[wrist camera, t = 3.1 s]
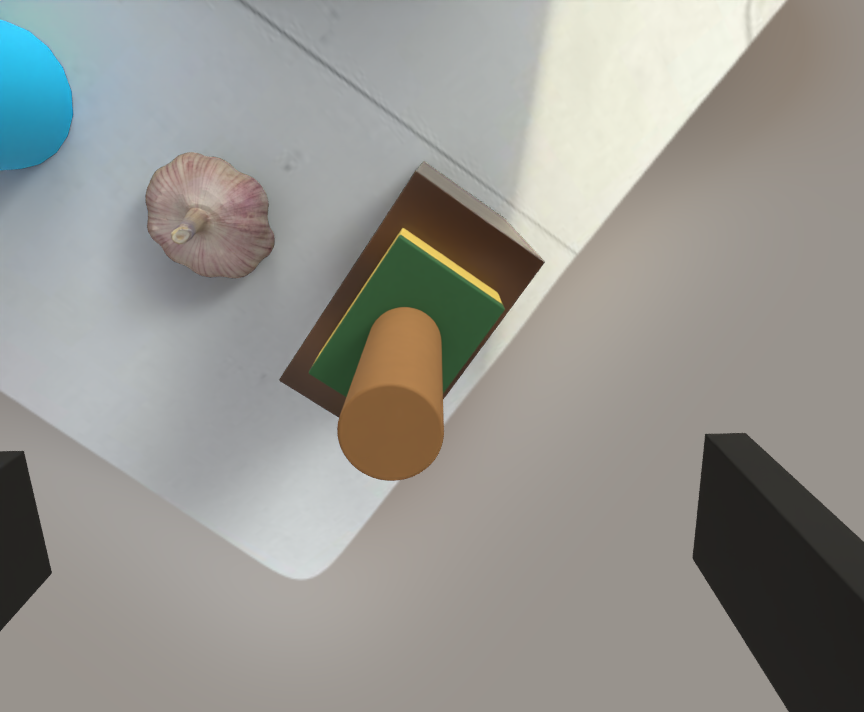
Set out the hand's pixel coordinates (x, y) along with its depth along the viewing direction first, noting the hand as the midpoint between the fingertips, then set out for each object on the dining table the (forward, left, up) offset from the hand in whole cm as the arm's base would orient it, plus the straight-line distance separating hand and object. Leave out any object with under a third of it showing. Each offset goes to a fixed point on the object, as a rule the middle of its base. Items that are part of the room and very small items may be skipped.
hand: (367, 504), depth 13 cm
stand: (0, 0, -30) cm, 30 cm away
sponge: (0, 0, -14) cm, 14 cm away
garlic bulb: (+12, -3, -30) cm, 33 cm away
